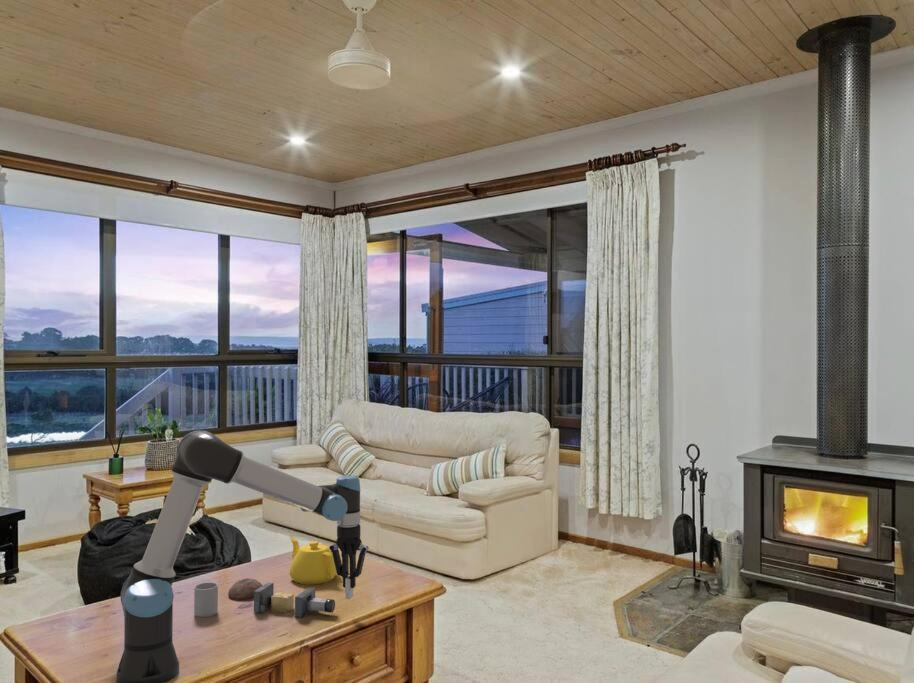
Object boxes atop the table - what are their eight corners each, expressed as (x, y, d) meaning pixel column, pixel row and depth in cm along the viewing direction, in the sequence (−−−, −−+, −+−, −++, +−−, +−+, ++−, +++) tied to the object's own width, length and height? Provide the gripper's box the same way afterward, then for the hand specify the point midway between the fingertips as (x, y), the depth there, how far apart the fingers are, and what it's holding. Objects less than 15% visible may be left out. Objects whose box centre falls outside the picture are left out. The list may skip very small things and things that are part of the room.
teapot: (272, 576, 262) (272, 540, 263) (309, 565, 276) (309, 531, 276) (314, 591, 247) (314, 552, 247) (351, 578, 260) (351, 542, 261)
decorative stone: (222, 600, 238) (222, 584, 238) (239, 588, 250) (239, 573, 250) (253, 602, 236) (253, 586, 236) (269, 590, 248) (269, 575, 248)
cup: (197, 619, 220) (197, 591, 220) (189, 609, 228) (189, 582, 228) (220, 614, 224) (220, 586, 225) (211, 605, 232) (211, 578, 233)
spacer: (287, 613, 225) (287, 598, 226) (271, 611, 227) (271, 596, 227) (293, 609, 229) (293, 593, 229) (277, 607, 231) (277, 592, 231)
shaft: (335, 610, 225) (335, 597, 225) (329, 614, 221) (330, 602, 221) (302, 606, 228) (302, 594, 228) (296, 611, 224) (296, 598, 225)
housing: (315, 607, 230) (315, 586, 230) (302, 618, 221) (302, 596, 221) (268, 602, 235) (268, 582, 235) (253, 612, 225) (253, 591, 226)
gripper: (371, 522, 224) (372, 595, 224) (335, 520, 228) (335, 592, 227) (362, 528, 217) (363, 603, 217) (325, 526, 221) (325, 600, 220)
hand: (349, 597), depth 222 cm, fingers closed
